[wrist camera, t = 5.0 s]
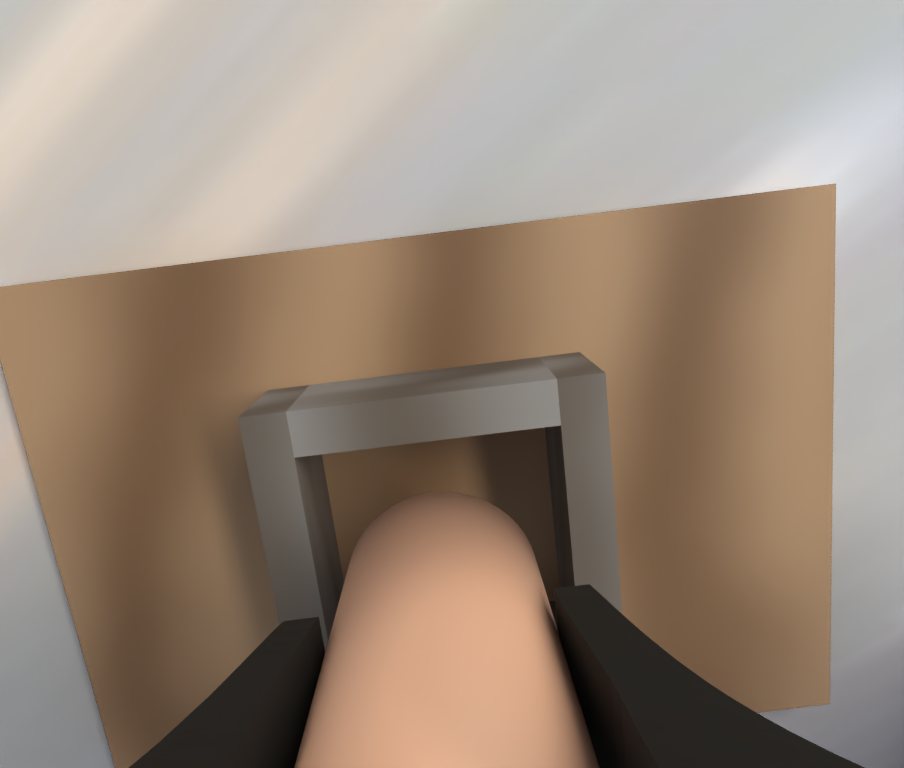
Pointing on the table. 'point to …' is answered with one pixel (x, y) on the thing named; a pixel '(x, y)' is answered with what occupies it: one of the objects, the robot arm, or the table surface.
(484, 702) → the peg
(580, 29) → the table surface
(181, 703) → the socket base
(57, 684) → the table surface
